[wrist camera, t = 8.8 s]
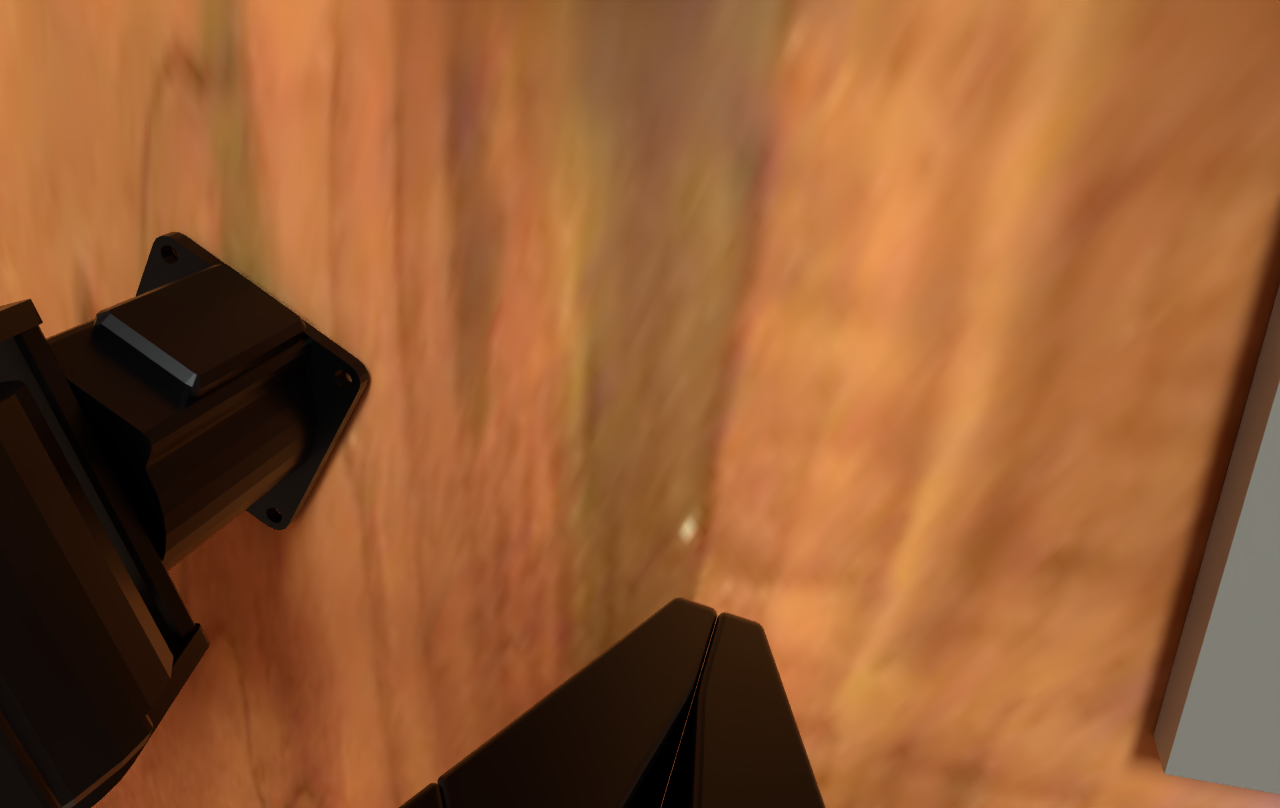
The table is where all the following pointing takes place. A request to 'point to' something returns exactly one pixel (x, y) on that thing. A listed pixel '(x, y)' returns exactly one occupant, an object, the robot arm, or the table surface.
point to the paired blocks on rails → (1235, 614)
